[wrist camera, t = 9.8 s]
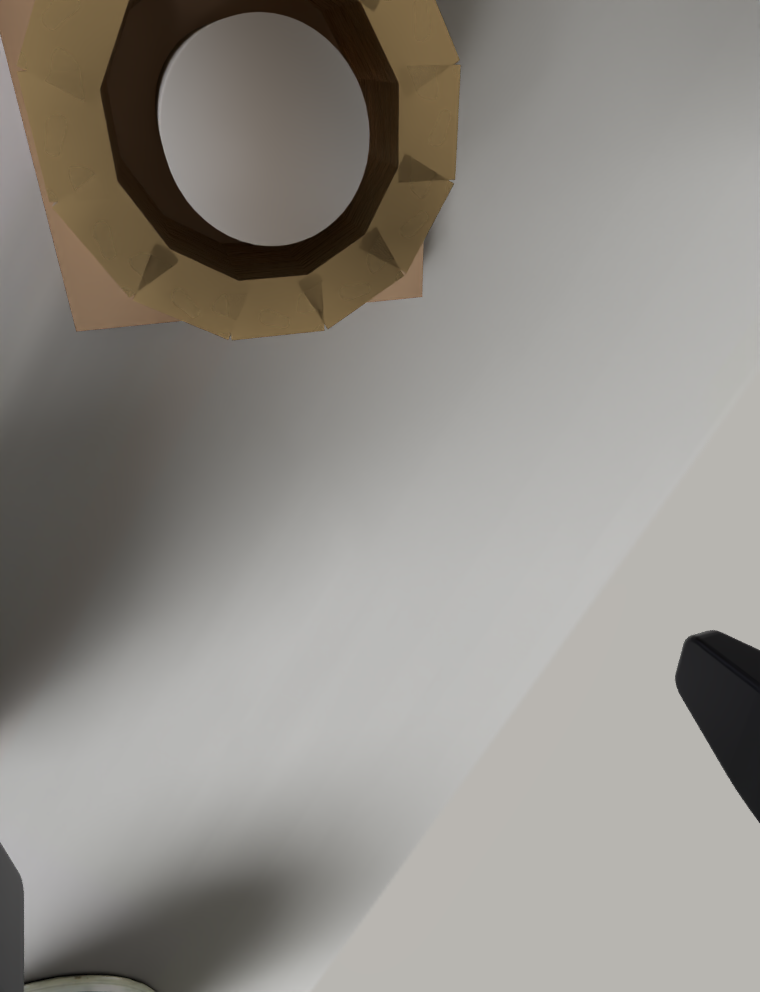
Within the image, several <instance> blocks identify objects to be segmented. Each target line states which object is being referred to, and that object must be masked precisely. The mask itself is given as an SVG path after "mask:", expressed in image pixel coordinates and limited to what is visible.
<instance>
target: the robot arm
mask: <svg viewBox="0 0 760 992" xmlns="http://www.w3.org/2000/svg"><path fill="white" fill-rule="evenodd" d="M675 681H676V686H677V689H678V692H679V694H680V695H681V697H682V699H683V701H684V702H685V704H686V706H687V707H688V709H689V711H690V712H691V714H692V716H693V718H694V719H695V721H696V723H697V725H698V726H699V728H700V730H701V731H702V733H703V735H704V736H705V738H706V740H707V742H708V743H709V745H710V747H711V749H712V750H713V752H714V754H715V755H716V757H717V759H718V761H719V762H720V764H721V766H722V767H723V769H724V771H725V772H726V774H727V776H728V777H729V779H730V781H731V782H732V784H733V785H734V787H735V789H736V790H737V792H738V793H739V795H740V796H741V797H742V799H743V800H744V802H745V803H746V805H747V806H748V808H749V809H750V810H751V812H752V813H753V814H754V816H755V817H756V819H757V820H758V821H759V823H760V650H758V649H756V648H754V647H752V646H750V645H747V644H745V643H743V642H741V641H739V640H737V639H735V638H732V637H730V636H728V635H726V634H724V633H721V632H719V631H715V630H710V631H705V632H702V633H698V634H695V635H691V636H689V637H688V638H687V639H686V640H685V642H684V644H683V648H682V652H681V656H680V660H679V663H678V667H677V671H676V675H675ZM0 992H24V891H23V884H22V879H21V876H20V874H19V872H18V870H17V869H16V867H15V866H14V864H13V862H12V861H11V859H10V857H9V856H8V854H7V852H6V851H5V849H4V848H3V846H2V844H1V843H0Z"/></svg>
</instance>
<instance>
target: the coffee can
mask: <svg viewBox="0 0 760 992" xmlns="http://www.w3.org/2000/svg"><path fill="white" fill-rule="evenodd" d="M24 992H155V991H154V990H153V989H151V988H150V987H148V986H147V985H145V984H143V983H139V982H136V981H134V980H131V979H128V978H122V977H117V976H107V975H77V976H64V977H56V978H52V979H47V980H41V981H37V982H32V983H28V984H25V985H24Z"/></svg>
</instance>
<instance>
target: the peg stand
mask: <svg viewBox="0 0 760 992" xmlns="http://www.w3.org/2000/svg"><path fill="white" fill-rule="evenodd" d="M34 2H35V0H0V34H1V38H2V42H3V46H4V50H5V54H6V58H7V62H8V66H9V70H10V74H11V78H12V81H13V85H14V89H15V93H16V97H17V101H18V105H19V109H20V113H21V117H22V121H23V125H24V128H25V132H26V136H27V140H28V144H29V148H30V152H31V156H32V160H33V164H34V168H35V172H36V175H37V179H38V183H39V187H40V191H41V195H42V199H43V203H44V207H45V211H46V215H47V219H48V222H49V226H50V230H51V234H52V238H53V242H54V246H55V250H56V254H57V258H58V262H59V266H60V269H61V273H62V277H63V281H64V285H65V289H66V293H67V297H68V301H69V305H70V309H71V313H72V316H73V320H74V324H75V328H76V331H86V330H96V329H106V328H116V327H126V326H136V325H146V324H156V323H166V322H176V321H181V320H179V319H177V318H174V317H172V316H169V315H167V314H165V313H162V312H160V311H157V310H155V309H152V308H150V307H148V306H145V305H143V304H140V303H138V302H136V301H133V296H131V297H130V298H129V297H128V296H127V294H126V293H125V292H124V291H123V290H122V289H121V287H120V286H119V285H118V284H117V283H116V282H115V280H114V279H113V278H112V277H111V276H110V275H109V273H108V272H107V271H106V270H105V269H104V268H103V266H102V265H101V264H100V263H99V262H98V261H97V259H96V258H95V257H94V256H93V255H92V254H91V252H90V251H89V250H88V249H87V248H86V247H85V245H84V244H83V243H82V242H81V241H80V240H79V238H78V237H77V236H76V235H75V234H74V233H73V231H72V230H71V229H70V228H69V227H68V226H67V224H66V223H65V222H64V221H63V220H62V219H61V217H60V216H59V215H58V214H57V213H56V212H55V210H54V209H53V208H52V205H53V204H54V202H49V199H48V195H47V191H46V187H45V183H44V179H43V175H42V171H41V167H40V163H39V159H38V155H37V151H36V147H35V143H34V139H33V135H32V131H31V127H30V123H29V119H28V115H27V111H26V107H25V103H24V99H23V95H22V91H21V87H20V83H19V79H18V75H17V71H22V70H24V69H22V68H20V67H18V66H17V63H18V59H19V56H20V52H21V48H22V45H23V41H24V38H25V34H26V31H27V27H28V24H29V20H30V16H31V13H32V9H33V6H34ZM106 84H107V89H108V94H109V99H110V105H111V110H112V115H113V120H114V126H115V131H116V136H117V142H118V147H119V152H120V157H121V159H122V160H123V162H124V163H125V164H126V166H127V167H128V168H129V170H130V171H131V172H132V174H133V175H134V176H135V178H136V179H137V180H138V182H139V183H140V184H141V186H142V187H143V188H144V190H145V191H146V192H147V193H148V195H149V196H150V197H151V199H152V200H153V201H154V203H155V204H156V205H157V207H158V208H159V209H160V211H161V212H162V213H163V215H164V216H166V217H168V218H170V219H172V220H175V221H177V222H179V223H181V224H183V225H185V226H187V227H189V228H191V229H193V230H195V231H197V232H199V233H201V234H204V235H206V236H208V237H210V238H212V239H214V240H216V241H218V242H220V243H236V242H247V243H251V244H255V245H263V246H281V245H288V244H293V243H296V242H300V241H303V240H305V239H308V238H310V237H312V236H314V235H316V234H318V233H319V232H321V231H322V230H324V229H326V228H327V227H328V226H329V225H330V224H332V223H333V222H334V221H335V220H336V219H337V218H338V217H339V216H340V215H341V214H342V213H343V212H344V210H345V209H346V208H347V206H348V205H349V203H350V202H351V201H352V199H353V197H354V195H355V193H356V192H357V190H358V188H359V185H360V183H361V180H362V178H363V175H364V171H365V168H366V164H367V158H368V152H369V136H370V133H369V119H368V114H367V109H366V104H365V101H364V97H363V94H362V91H361V88H360V86H359V84H358V81H357V79H356V77H355V75H354V73H353V71H352V70H351V68H350V66H349V65H348V63H347V61H346V60H345V59H344V57H343V55H342V53H341V51H340V49H339V47H338V45H337V43H336V41H335V39H334V37H333V35H332V33H331V31H330V29H329V27H328V25H327V23H326V21H325V19H324V17H323V15H322V13H321V11H320V10H319V9H317V8H316V7H314V6H313V5H311V4H310V3H309V2H307V1H306V0H142V1H141V2H140V3H138V4H137V5H136V6H134V7H133V8H132V9H130V11H129V14H128V17H127V20H126V23H125V26H124V29H123V32H122V35H121V39H120V42H119V45H118V48H117V51H116V54H115V57H114V60H113V63H112V66H111V69H110V72H109V75H108V78H107V81H106ZM401 272H402V273H403V275H404V276H403V277H402V278H401V279H399V280H398V281H396V282H395V283H393V284H392V285H391V286H389V287H388V288H386V289H385V290H383V291H382V292H381V293H379V294H378V295H376V296H375V297H373V298H372V299H371V300H369V301H368V302H376V301H386V300H396V299H406V298H416V297H422V282H423V243H422V245H421V247H420V249H419V251H418V253H417V254H416V256H415V258H414V260H413V262H412V264H411V266H410V268H409V270H408V271H407V273H405V272H403V271H402V270H401Z"/></svg>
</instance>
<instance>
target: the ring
mask: <svg viewBox="0 0 760 992" xmlns="http://www.w3.org/2000/svg"><path fill="white" fill-rule="evenodd" d="M141 1H142V0H35V2H34V6H33V9H32V13H31V16H30V20H29V24H28V27H27V31H26V34H25V38H24V41H23V45H22V48H21V52H20V56H19V59H18V63H17V66H18V67H20V68H22V69H24V70H22V71H17V75H18V79H19V83H20V87H21V91H22V95H23V99H24V103H25V107H26V111H27V115H28V119H29V123H30V127H31V131H32V135H33V139H34V143H35V147H36V151H37V155H38V159H39V163H40V167H41V171H42V175H43V179H44V183H45V187H46V191H47V195H48V199H49V202H54V204H53V205H52V208H53V209H54V210H55V212H56V213H57V214H58V215H59V216H60V217H61V219H62V220H63V221H64V222H65V223H66V224H67V226H68V227H69V228H70V229H71V230H72V231H73V233H74V234H75V235H76V236H77V237H78V238H79V240H80V241H81V242H82V243H83V244H84V245H85V247H86V248H87V249H88V250H89V251H90V252H91V254H92V255H93V256H94V257H95V258H96V259H97V261H98V262H99V263H100V264H101V265H102V266H103V268H104V269H105V270H106V271H107V272H108V273H109V275H110V276H111V277H112V278H113V279H114V280H115V282H116V283H117V284H118V285H119V286H120V287H121V289H122V290H123V291H124V292H125V293H126V294H127V296H128V297H129V298H130V297H131V296H133V301H136V302H138V303H140V304H143V305H145V306H148V307H150V308H152V309H155V310H157V311H160V312H162V313H165V314H167V315H169V316H172V317H174V318H177V319H179V320H181V321H184V322H186V323H189V324H191V325H194V326H196V327H198V328H201V329H203V330H206V331H208V332H210V333H213V334H215V335H218V336H220V337H223V338H225V339H227V340H228V339H229V337H230V336H231V339H232V340H240V339H249V338H259V337H268V336H278V335H287V334H296V333H306V332H315V331H325V330H324V324H325V326H326V327H327V329H329V328H330V327H332V326H333V325H335V324H336V323H338V322H339V321H340V320H342V319H343V318H345V317H346V316H348V315H349V314H350V313H352V312H353V311H355V310H356V309H358V308H359V307H360V306H362V305H363V304H365V303H366V302H368V301H369V300H371V299H372V298H373V297H375V296H376V295H378V294H379V293H381V292H382V291H383V290H385V289H386V288H388V287H389V286H391V285H392V284H393V283H395V282H396V281H398V280H399V279H401V278H402V277H403V276H404V275H403V273H402V272H401V270H402V271H403V272H405V273H407V271H408V270H409V268H410V266H411V264H412V262H413V260H414V258H415V256H416V254H417V253H418V251H419V249H420V247H421V245H422V243H423V241H424V239H425V237H426V236H427V234H428V232H429V230H430V228H431V226H432V224H433V222H434V220H435V219H436V217H437V215H438V213H439V211H440V209H441V207H442V205H443V203H444V202H445V200H446V198H447V196H448V194H449V192H450V190H451V188H452V186H453V185H454V183H452V182H450V181H449V180H455V171H456V150H457V130H458V109H459V88H460V67H461V65H455V63H456V62H458V61H459V60H460V59H459V57H458V54H457V52H456V49H455V47H454V45H453V42H452V40H451V37H450V35H449V32H448V30H447V27H446V25H445V23H444V20H443V18H442V15H441V13H440V10H439V8H438V6H437V3H436V1H435V0H306V1H307V2H309V3H310V4H311V5H313V6H314V7H316V8H317V9H319V10H320V11H321V13H322V15H323V17H324V19H325V21H326V23H327V25H328V27H329V29H330V31H331V33H332V35H333V37H334V39H335V41H336V43H337V45H338V47H339V49H340V51H341V53H342V55H343V57H344V59H345V60H346V61H347V63H348V65H349V66H350V68H351V70H352V71H353V73H354V75H355V77H356V79H357V81H358V84H359V86H360V88H361V91H362V94H363V97H364V101H365V104H366V109H367V114H368V119H369V133H370V136H369V152H368V158H367V164H366V168H365V171H364V175H363V178H362V180H361V183H360V185H359V188H358V190H357V192H356V193H355V195H354V197H353V199H352V201H351V202H350V203H349V205H348V206H347V208H346V209H345V210H344V212H343V213H342V214H341V215H340V216H339V217H338V218H337V219H336V220H335V221H334V222H333V223H332V224H330V225H329V226H328V227H327V228H326V229H324V230H322V231H321V232H319V233H318V234H316V235H314V236H312V237H310V238H308V239H305V240H303V241H300V242H296V243H293V244H288V245H281V246H263V245H255V244H251V243H247V242H236V243H220V242H218V241H216V240H214V239H212V238H210V237H208V236H206V235H204V234H201V233H199V232H197V231H195V230H193V229H191V228H189V227H187V226H185V225H183V224H181V223H179V222H177V221H175V220H172V219H170V218H168V217H166V216H164V215H163V213H162V212H161V211H160V209H159V208H158V207H157V205H156V204H155V203H154V201H153V200H152V199H151V197H150V196H149V195H148V193H147V192H146V191H145V190H144V188H143V187H142V186H141V184H140V183H139V182H138V180H137V179H136V178H135V176H134V175H133V174H132V172H131V171H130V170H129V168H128V167H127V166H126V164H125V163H124V162H123V160H122V159H121V157H120V152H119V147H118V142H117V136H116V131H115V126H114V120H113V115H112V110H111V105H110V99H109V94H108V89H107V84H106V81H107V78H108V75H109V72H110V69H111V66H112V63H113V60H114V57H115V54H116V51H117V48H118V45H119V42H120V39H121V35H122V32H123V29H124V26H125V23H126V20H127V17H128V14H129V11H130V9H132V8H133V7H134V6H136V5H137V4H138V3H140V2H141Z"/></svg>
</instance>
